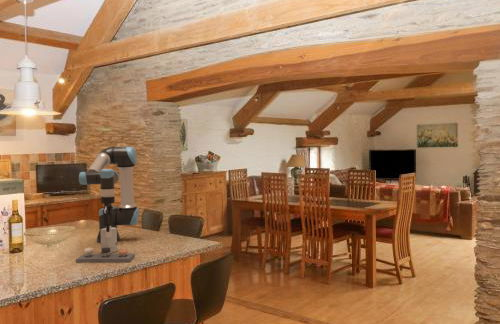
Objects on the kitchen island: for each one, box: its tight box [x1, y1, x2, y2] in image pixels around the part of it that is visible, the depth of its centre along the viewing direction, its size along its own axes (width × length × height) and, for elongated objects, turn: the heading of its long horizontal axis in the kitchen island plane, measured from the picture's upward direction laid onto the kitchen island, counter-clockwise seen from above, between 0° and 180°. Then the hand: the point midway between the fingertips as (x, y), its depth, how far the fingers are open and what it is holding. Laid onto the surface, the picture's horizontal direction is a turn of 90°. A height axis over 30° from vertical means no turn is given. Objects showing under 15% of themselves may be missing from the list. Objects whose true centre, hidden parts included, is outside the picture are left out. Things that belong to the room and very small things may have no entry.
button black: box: [100, 247, 110, 257], centre depth 262 cm, size 5×5×5 cm
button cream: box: [83, 247, 94, 257], centre depth 263 cm, size 5×5×5 cm
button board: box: [75, 252, 136, 264], centre depth 263 cm, size 12×30×2 cm, turn 89°
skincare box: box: [100, 227, 118, 254], centre depth 280 cm, size 8×6×15 cm
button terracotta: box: [118, 248, 129, 257], centre depth 262 cm, size 5×5×5 cm
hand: (108, 237), depth 262 cm, fingers closed
